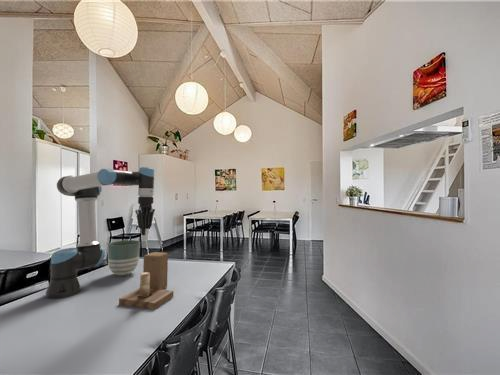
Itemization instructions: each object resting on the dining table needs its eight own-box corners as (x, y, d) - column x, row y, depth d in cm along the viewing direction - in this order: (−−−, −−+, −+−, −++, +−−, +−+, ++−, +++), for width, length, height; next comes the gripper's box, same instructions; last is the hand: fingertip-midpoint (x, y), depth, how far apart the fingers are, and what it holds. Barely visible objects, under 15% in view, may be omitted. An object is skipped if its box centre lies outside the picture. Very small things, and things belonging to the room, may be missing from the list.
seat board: (118, 304, 123) (118, 298, 123) (141, 292, 138) (141, 287, 138) (154, 309, 118) (154, 302, 118) (173, 296, 133) (173, 290, 133)
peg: (137, 303, 124) (138, 274, 125) (143, 299, 129) (144, 272, 129) (145, 304, 123) (146, 275, 124) (151, 300, 128) (152, 272, 128)
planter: (145, 273, 174) (146, 241, 175) (117, 281, 158) (118, 246, 159) (128, 268, 185) (129, 239, 186) (100, 275, 168) (101, 243, 169)
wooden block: (158, 293, 138) (159, 256, 139) (142, 291, 140) (142, 255, 141) (167, 286, 148) (168, 252, 149) (152, 285, 150) (153, 251, 151)
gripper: (143, 196, 127) (142, 243, 126) (159, 196, 140) (158, 239, 139) (131, 196, 129) (129, 242, 129) (148, 196, 142) (146, 238, 141)
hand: (144, 240), depth 134 cm, fingers closed
